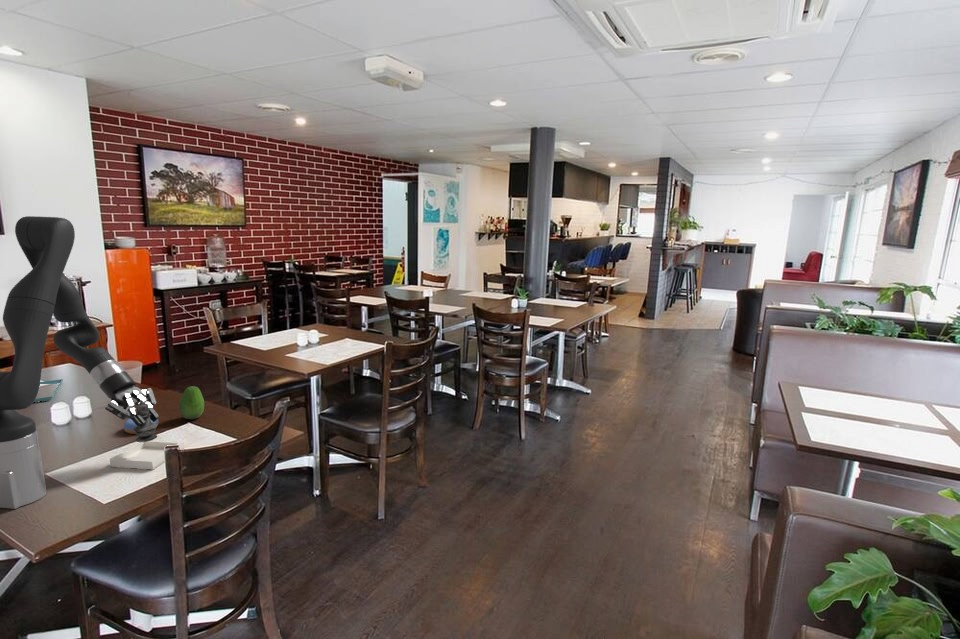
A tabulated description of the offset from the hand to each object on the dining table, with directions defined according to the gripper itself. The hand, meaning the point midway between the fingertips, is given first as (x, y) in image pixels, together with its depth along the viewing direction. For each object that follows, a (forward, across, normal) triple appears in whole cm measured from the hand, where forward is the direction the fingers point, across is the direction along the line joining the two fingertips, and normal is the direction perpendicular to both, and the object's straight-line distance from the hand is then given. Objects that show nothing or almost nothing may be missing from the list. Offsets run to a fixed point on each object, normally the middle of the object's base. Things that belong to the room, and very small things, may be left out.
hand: (149, 422), depth 145 cm
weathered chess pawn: (+2, 0, +5) cm, 6 cm away
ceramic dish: (+7, 0, +9) cm, 12 cm away
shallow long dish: (-55, +31, +74) cm, 97 cm away
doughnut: (-7, +15, +25) cm, 30 cm away
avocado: (-1, +28, +18) cm, 34 cm away
